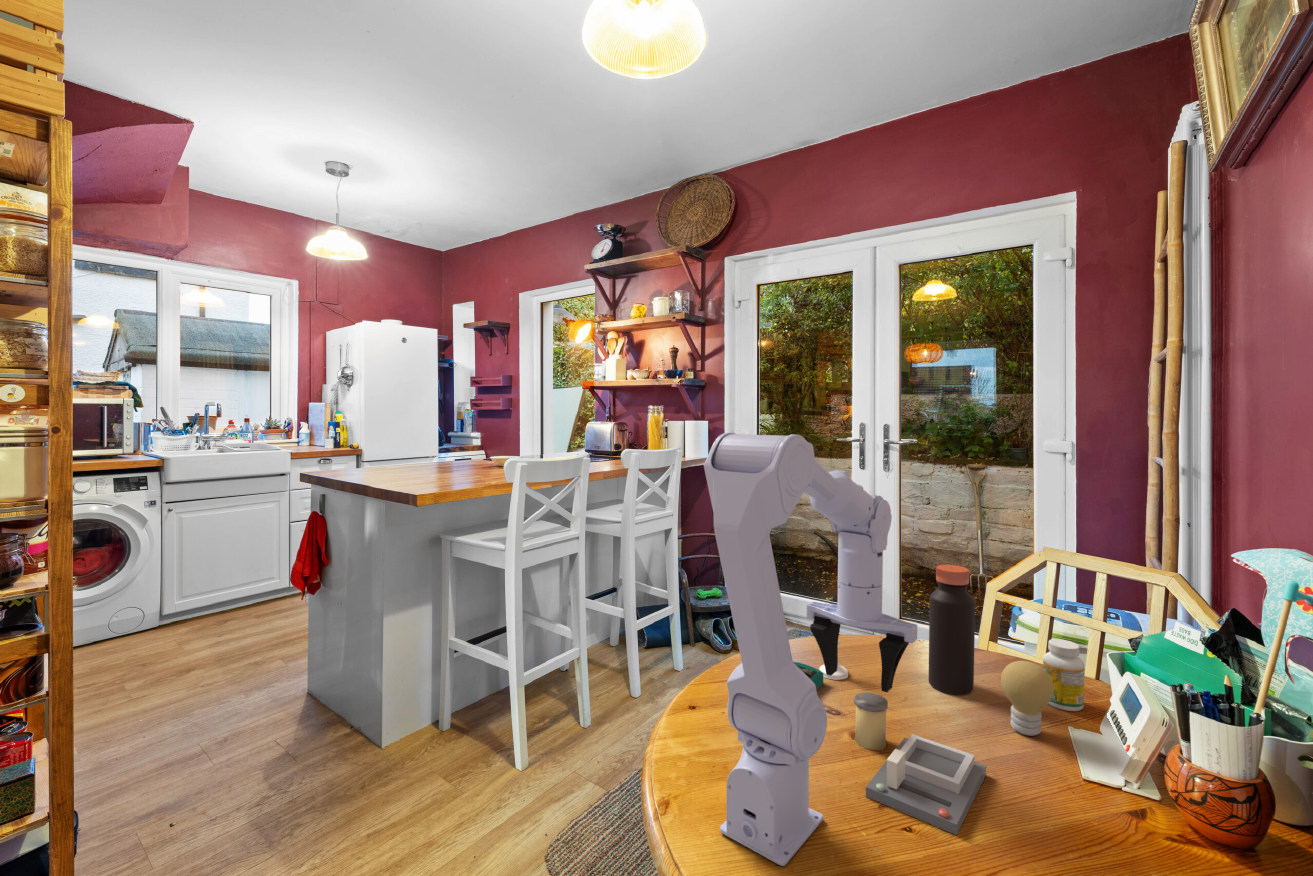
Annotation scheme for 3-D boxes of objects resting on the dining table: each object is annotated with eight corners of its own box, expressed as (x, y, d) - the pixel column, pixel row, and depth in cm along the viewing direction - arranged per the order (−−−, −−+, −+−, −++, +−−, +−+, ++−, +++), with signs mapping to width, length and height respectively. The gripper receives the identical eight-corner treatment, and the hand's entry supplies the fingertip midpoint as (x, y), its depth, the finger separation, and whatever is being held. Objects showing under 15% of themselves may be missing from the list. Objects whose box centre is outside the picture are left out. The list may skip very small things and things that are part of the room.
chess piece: (852, 680, 101) (852, 622, 101) (823, 680, 101) (823, 623, 101) (843, 667, 106) (843, 613, 106) (815, 667, 106) (816, 613, 106)
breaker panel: (956, 835, 64) (956, 814, 64) (865, 796, 71) (865, 777, 71) (986, 774, 75) (986, 756, 75) (904, 745, 81) (904, 729, 81)
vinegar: (983, 691, 97) (985, 571, 96) (952, 699, 94) (955, 575, 94) (948, 674, 103) (950, 561, 102) (919, 681, 101) (920, 565, 100)
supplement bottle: (1089, 714, 90) (1091, 652, 89) (1049, 709, 91) (1051, 648, 91) (1074, 697, 95) (1076, 638, 94) (1037, 693, 96) (1038, 635, 96)
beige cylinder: (880, 754, 79) (881, 711, 79) (848, 743, 82) (849, 700, 82) (891, 740, 83) (892, 699, 83) (861, 730, 86) (861, 689, 85)
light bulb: (1056, 730, 85) (1057, 662, 85) (1047, 749, 81) (1049, 677, 80) (1005, 715, 90) (1007, 650, 89) (994, 732, 85) (996, 663, 84)
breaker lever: (896, 789, 70) (896, 763, 70) (886, 785, 71) (886, 759, 71) (905, 777, 72) (905, 752, 72) (895, 773, 73) (895, 748, 73)
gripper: (925, 585, 78) (923, 686, 79) (822, 567, 88) (821, 657, 88) (908, 598, 73) (906, 706, 73) (800, 577, 82) (799, 673, 83)
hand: (858, 680), depth 80 cm, fingers open, 7 cm apart
